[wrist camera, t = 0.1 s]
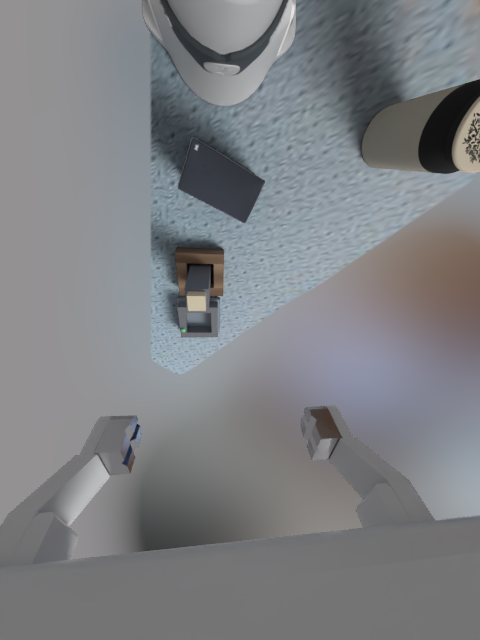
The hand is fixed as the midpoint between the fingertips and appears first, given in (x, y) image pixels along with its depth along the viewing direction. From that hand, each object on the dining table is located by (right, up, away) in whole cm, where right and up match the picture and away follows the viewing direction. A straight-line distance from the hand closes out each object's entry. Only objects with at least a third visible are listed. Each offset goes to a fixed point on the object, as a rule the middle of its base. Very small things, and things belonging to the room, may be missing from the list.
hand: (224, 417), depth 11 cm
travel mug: (+25, +35, +25) cm, 50 cm away
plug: (-8, +16, +36) cm, 40 cm away
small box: (-3, +29, +27) cm, 40 cm away
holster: (-8, +16, +36) cm, 40 cm away
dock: (-9, +6, +43) cm, 45 cm away
